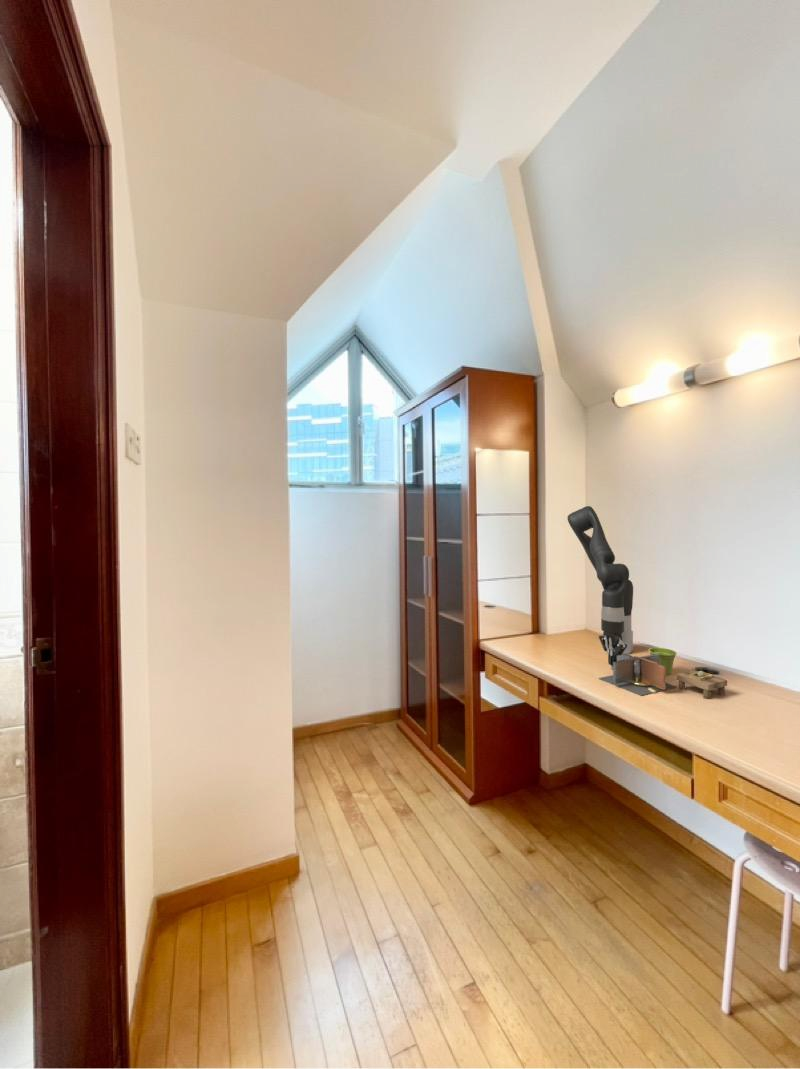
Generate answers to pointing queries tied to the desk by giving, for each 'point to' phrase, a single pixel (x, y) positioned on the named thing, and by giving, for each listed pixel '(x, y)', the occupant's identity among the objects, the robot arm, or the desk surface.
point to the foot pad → (635, 688)
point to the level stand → (702, 682)
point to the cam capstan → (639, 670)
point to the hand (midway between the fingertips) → (612, 664)
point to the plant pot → (664, 658)
